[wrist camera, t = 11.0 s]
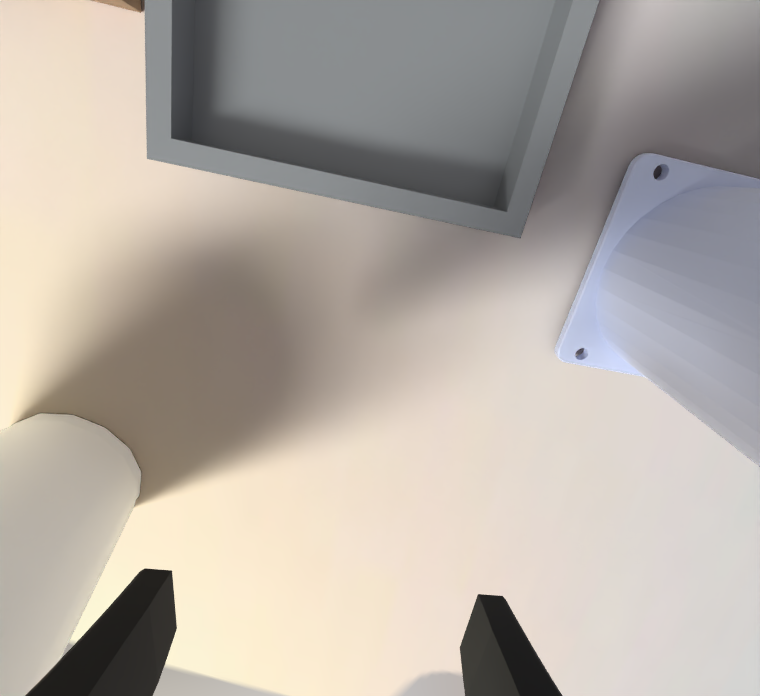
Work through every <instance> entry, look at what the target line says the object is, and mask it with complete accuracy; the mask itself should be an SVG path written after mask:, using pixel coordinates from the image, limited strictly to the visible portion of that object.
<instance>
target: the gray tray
mask: <svg viewBox="0 0 760 696" xmlns="http://www.w3.org/2000/svg"><path fill="white" fill-rule="evenodd" d="M598 3H599V0H145V58H146V127H147V159H151V160H156V161H161V162H165V163H170V164H175V165H179V166H184V167H189V168H193V169H198V170H203V171H207V172H212V173H217V174H222V175H226V176H231V177H236V178H240V179H245V180H250V181H254V182H259V183H264V184H268V185H273V186H278V187H282V188H287V189H292V190H297V191H301V192H306V193H311V194H315V195H320V196H325V197H329V198H334V199H339V200H343V201H348V202H353V203H358V204H362V205H367V206H372V207H376V208H381V209H386V210H390V211H395V212H400V213H404V214H409V215H414V216H418V217H423V218H428V219H433V220H437V221H442V222H447V223H451V224H456V225H461V226H465V227H470V228H475V229H479V230H484V231H489V232H493V233H498V234H503V235H508V236H512V237H517V238H521V235H522V232H523V229H524V226H525V223H526V220H527V217H528V214H529V211H530V208H531V205H532V202H533V199H534V196H535V193H536V190H537V187H538V184H539V181H540V178H541V175H542V172H543V169H544V166H545V163H546V160H547V157H548V154H549V151H550V148H551V145H552V142H553V139H554V136H555V133H556V130H557V127H558V124H559V121H560V118H561V115H562V112H563V109H564V106H565V103H566V100H567V97H568V94H569V91H570V88H571V85H572V82H573V78H574V75H575V72H576V69H577V66H578V63H579V60H580V57H581V54H582V51H583V48H584V45H585V42H586V39H587V36H588V33H589V30H590V27H591V24H592V21H593V18H594V15H595V12H596V9H597V6H598Z"/></svg>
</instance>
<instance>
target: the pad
mask: <svg viewBox="0 0 760 696" xmlns="http://www.w3.org/2000/svg"><path fill="white" fill-rule="evenodd" d="M92 1H96V2H100V3H104V4H108V5H112V6H116V7H121V8H125V9H129V10H133V11H137V12H141V0H92Z"/></svg>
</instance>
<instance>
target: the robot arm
mask: <svg viewBox="0 0 760 696" xmlns="http://www.w3.org/2000/svg"><path fill="white" fill-rule="evenodd" d="M659 165H660V166H661V168H662V171H661V174H660V176H659V177H658V178H657V179H654V176H653V173H654V170H655V168H656V167H657V166H659ZM581 348H584V351H583V353H582V354H580V355H579V356H575V354H576V352H577V351H578V350H579V349H581ZM555 354H556V356H557V357H558V358H559V359H560V360H561V361H563V362H566V363H572V364H577V365H583V366H588V367H593V368H599V369H604V370H610V371H615V372H621V373H626V374H631V375H637V376H642V377H646V378H647V379H649V380H650V381H651V382H652V383H654V384H655V385H656V386H657V387H659V388H660V389H661V390H663V391H664V392H665V393H666V394H668V395H669V396H670V397H671V398H673V399H674V400H675V401H677V402H678V403H679V404H680V405H682V406H683V407H684V408H685V409H687V410H688V411H689V412H691V413H692V414H693V415H694V416H696V417H697V418H698V419H699V420H701V421H702V422H703V423H705V424H706V425H707V426H708V427H710V428H711V429H712V430H713V431H715V432H716V433H717V434H719V435H720V436H721V437H722V438H724V439H725V440H726V441H727V442H729V443H730V444H731V445H733V446H734V447H735V448H736V449H738V450H739V451H740V452H741V453H743V454H744V455H745V456H747V457H748V458H749V459H750V460H752V461H753V462H754V463H755V464H757V465H758V466H759V467H760V179H757V178H753V177H749V176H745V175H741V174H737V173H733V172H728V171H724V170H720V169H716V168H712V167H708V166H704V165H700V164H696V163H691V162H687V161H683V160H679V159H675V158H671V157H667V156H663V155H658V154H654V153H643V154H640V155H638V156H636V157H635V158H634V159H633V160H632V161H631V163H630V164H629V166H628V169H627V171H626V174H625V176H624V179H623V181H622V183H621V186H620V188H619V191H618V193H617V196H616V198H615V201H614V203H613V206H612V208H611V211H610V213H609V216H608V218H607V220H606V223H605V225H604V228H603V230H602V233H601V235H600V238H599V240H598V243H597V245H596V248H595V250H594V253H593V255H592V257H591V260H590V262H589V265H588V267H587V270H586V272H585V275H584V277H583V280H582V282H581V285H580V287H579V290H578V292H577V294H576V297H575V299H574V302H573V304H572V307H571V309H570V312H569V314H568V317H567V319H566V322H565V324H564V327H563V329H562V331H561V334H560V336H559V339H558V341H557V344H556V346H555ZM176 629H177V626H176V614H175V602H174V590H173V578H172V571H169V570H156V569H143V570H142V571H140V572H139V573H138V574H137V576H136V577H135V578H134V579H133V580H132V581H131V583H130V584H129V585H128V586H127V587H126V588H125V590H124V591H123V592H122V593H121V594H120V595H119V596H118V598H117V599H116V600H115V601H114V602H113V603H112V604H111V605H110V607H109V608H108V609H107V610H106V611H105V612H104V613H103V614H102V615H101V617H100V618H99V619H98V620H97V621H96V622H95V623H94V624H93V625H92V626H91V628H90V629H89V630H88V631H87V632H86V633H85V634H84V635H83V636H82V637H81V638H80V639H79V640H78V642H77V643H76V644H75V645H74V646H73V647H72V648H71V649H70V650H69V651H68V652H67V653H66V654H65V655H64V656H63V657H62V658H61V659H60V660H59V662H58V663H57V664H56V665H55V666H54V667H53V668H52V669H51V670H50V671H49V672H48V673H47V674H46V675H45V676H44V677H43V678H42V679H41V680H40V681H39V682H38V683H37V684H36V685H35V686H34V687H33V688H32V689H31V690H30V691H29V692H28V693H27V694H26V695H25V696H153V693H154V691H155V689H156V686H157V684H158V682H159V679H160V676H161V673H162V670H163V667H164V665H165V662H166V659H167V656H168V653H169V650H170V647H171V644H172V641H173V638H174V635H175V632H176ZM460 653H461V662H462V672H463V681H464V689H465V696H562V694H561V693H560V691H559V690H558V688H557V686H556V685H555V683H554V682H553V680H552V679H551V677H550V675H549V674H548V672H547V670H546V669H545V667H544V665H543V664H542V662H541V660H540V659H539V657H538V655H537V654H536V652H535V650H534V648H533V647H532V645H531V643H530V642H529V640H528V638H527V637H526V635H525V633H524V631H523V630H522V628H521V626H520V624H519V623H518V621H517V619H516V617H515V615H514V614H513V612H512V610H511V608H510V607H509V605H508V603H507V601H506V600H505V598H504V597H503V596H494V595H481V594H478V596H477V599H476V602H475V605H474V608H473V611H472V614H471V617H470V620H469V623H468V625H467V628H466V631H465V634H464V637H463V640H462V643H461V646H460Z"/></svg>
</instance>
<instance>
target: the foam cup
mask: <svg viewBox="0 0 760 696" xmlns="http://www.w3.org/2000/svg"><path fill="white" fill-rule="evenodd" d="M140 484H141V471H140V468H139V466H138V464H137V462H136V460H135V458H134V456H133V454H132V452H131V450H130V448H128V447H127V446H126V445H125V444H124V443H123V442H121V441H120V440H119V439H118V438H117V437H116V436H114V435H113V434H112V433H111V432H110V431H109V430H107V429H106V428H105V427H102V426H100V425H97V424H95V423H92V422H90V421H87V420H85V419H82V418H80V417H77V416H75V415H66V414H44V413H39V414H37V415H34V416H32V417H29V418H27V419H24V420H22V421H19V422H17V423H14V424H13V425H11V426H10V427H8V428H6V429H3V430H1V431H0V696H25V695H26V694H27V693H28V692H29V691H30V690H31V689H32V688H33V687H34V686H35V685H36V684H37V683H38V682H39V681H40V680H41V679H42V678H43V677H44V676H45V675H46V674H47V673H48V672H49V671H50V670H51V669H52V668H53V667H54V666H55V665H56V664H57V663H58V662H59V660H60V659H61V657H62V655H63V653H64V651H65V649H66V647H67V645H68V642H69V640H70V638H71V636H72V634H73V632H74V630H75V628H76V626H77V624H78V622H79V620H80V618H81V616H82V613H83V611H84V609H85V607H86V605H87V603H88V601H89V599H90V597H91V595H92V593H93V591H94V589H95V587H96V585H97V582H98V580H99V578H100V576H101V574H102V572H103V570H104V568H105V566H106V564H107V562H108V560H109V558H110V556H111V554H112V551H113V549H114V547H115V545H116V543H117V541H118V539H119V537H120V535H121V533H122V531H123V529H124V527H125V525H126V523H127V520H128V518H129V516H130V514H131V512H132V510H133V508H134V506H135V501H136V499H137V498H138V496H139V495H140Z"/></svg>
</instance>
